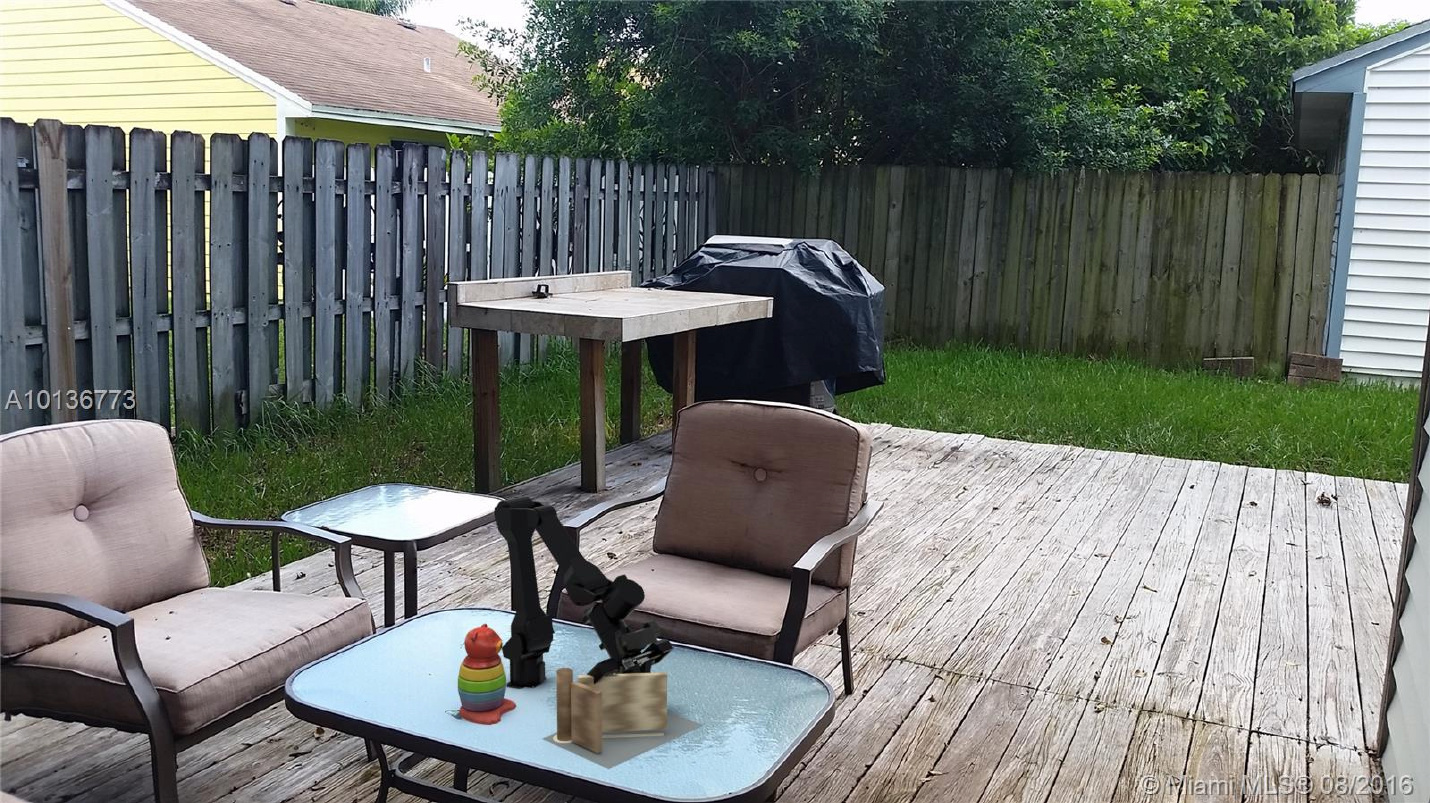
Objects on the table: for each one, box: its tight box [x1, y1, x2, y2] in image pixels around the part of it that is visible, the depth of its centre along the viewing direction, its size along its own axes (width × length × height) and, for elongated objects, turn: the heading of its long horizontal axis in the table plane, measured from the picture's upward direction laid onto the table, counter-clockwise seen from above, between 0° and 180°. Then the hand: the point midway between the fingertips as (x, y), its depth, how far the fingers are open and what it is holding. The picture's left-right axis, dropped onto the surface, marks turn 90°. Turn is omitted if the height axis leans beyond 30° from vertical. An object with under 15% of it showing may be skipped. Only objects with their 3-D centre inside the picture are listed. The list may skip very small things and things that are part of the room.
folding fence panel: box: [577, 671, 668, 732], centre depth 218 cm, size 16×1×11 cm, turn 97°
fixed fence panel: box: [555, 667, 602, 753], centre depth 214 cm, size 11×3×13 cm, turn 48°
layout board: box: [542, 710, 704, 770], centre depth 221 cm, size 18×25×1 cm
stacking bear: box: [457, 623, 517, 726], centre depth 228 cm, size 11×10×18 cm
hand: (652, 701), depth 220 cm, fingers closed
